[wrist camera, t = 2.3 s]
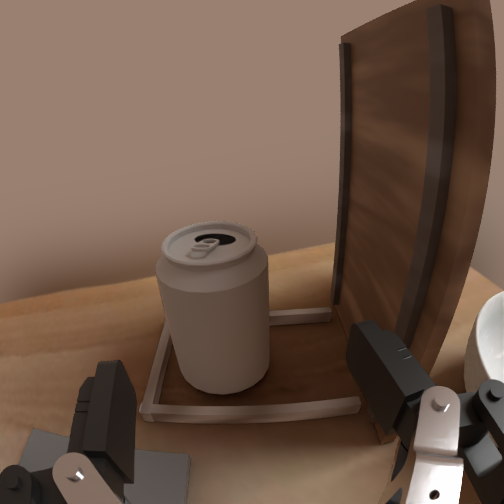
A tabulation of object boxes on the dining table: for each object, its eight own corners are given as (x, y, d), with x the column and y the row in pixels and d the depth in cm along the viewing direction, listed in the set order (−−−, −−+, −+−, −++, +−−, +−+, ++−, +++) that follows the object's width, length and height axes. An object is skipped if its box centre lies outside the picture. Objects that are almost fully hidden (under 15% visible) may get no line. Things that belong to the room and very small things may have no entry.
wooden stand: (135, 453, 18) (0, 9, 6) (174, 304, 34) (139, 47, 22) (393, 441, 18) (487, -11, 6) (341, 296, 34) (351, 37, 22)
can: (278, 343, 28) (278, 218, 23) (257, 409, 22) (249, 273, 17) (201, 331, 30) (182, 212, 25) (167, 388, 24) (128, 259, 18)
